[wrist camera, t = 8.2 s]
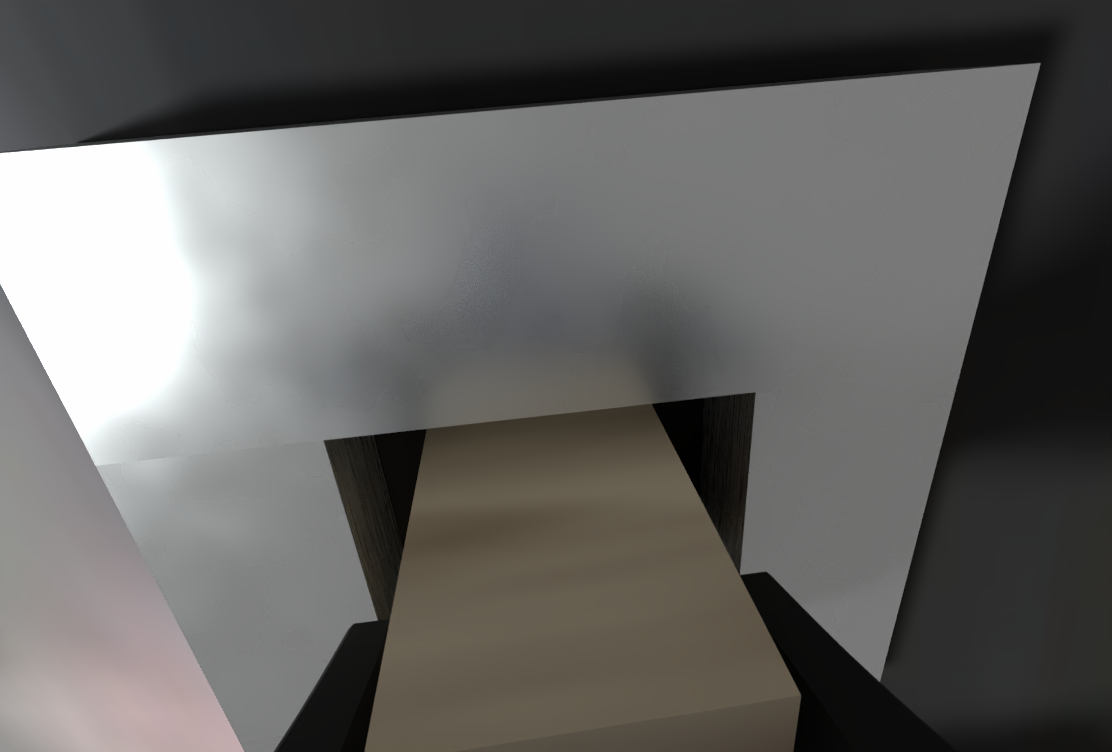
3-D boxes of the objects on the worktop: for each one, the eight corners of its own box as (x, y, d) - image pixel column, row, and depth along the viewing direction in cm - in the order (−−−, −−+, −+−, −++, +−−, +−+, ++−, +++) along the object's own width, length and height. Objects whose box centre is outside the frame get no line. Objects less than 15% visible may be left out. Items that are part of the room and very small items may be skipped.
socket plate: (808, 685, 17) (855, 774, 15) (326, 751, 16) (298, 854, 14) (917, 70, 10) (1040, 63, 8) (73, 143, 9) (-65, 159, 7)
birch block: (648, 547, 14) (770, 904, 8) (465, 574, 14) (445, 962, 8) (642, 386, 12) (801, 695, 6) (429, 414, 12) (360, 766, 6)
